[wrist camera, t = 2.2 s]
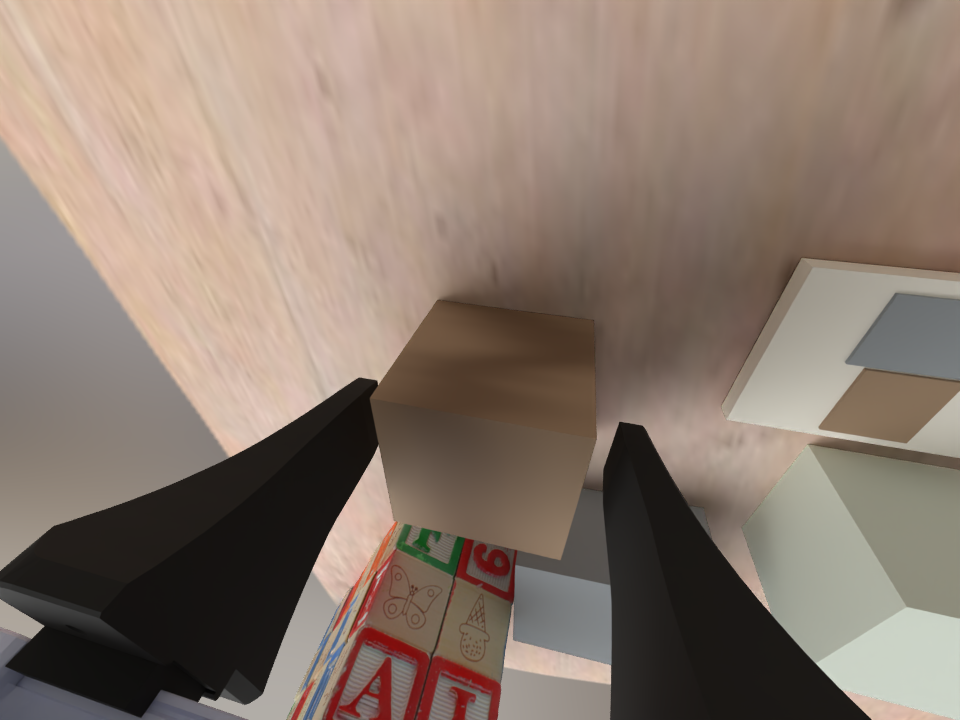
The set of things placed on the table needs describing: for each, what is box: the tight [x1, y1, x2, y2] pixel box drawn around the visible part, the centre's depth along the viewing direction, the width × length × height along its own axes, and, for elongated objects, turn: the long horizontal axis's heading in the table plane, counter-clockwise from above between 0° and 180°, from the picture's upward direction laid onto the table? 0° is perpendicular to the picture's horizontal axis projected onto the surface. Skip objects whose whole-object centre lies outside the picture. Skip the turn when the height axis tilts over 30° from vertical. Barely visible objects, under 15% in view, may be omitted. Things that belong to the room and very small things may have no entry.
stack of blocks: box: [286, 522, 517, 720], centre depth 21 cm, size 21×6×12 cm, turn 154°
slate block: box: [513, 488, 712, 665], centre depth 17 cm, size 7×7×4 cm
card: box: [721, 258, 960, 458], centre depth 10 cm, size 7×5×1 cm
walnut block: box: [370, 300, 597, 560], centre depth 12 cm, size 5×5×5 cm
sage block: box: [742, 444, 960, 720], centre depth 12 cm, size 5×5×5 cm
